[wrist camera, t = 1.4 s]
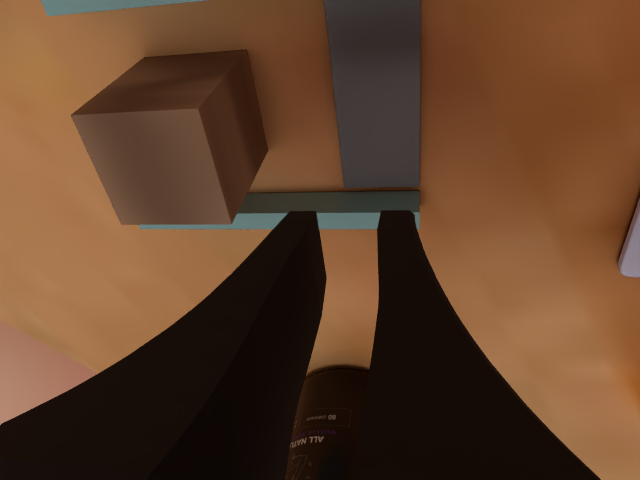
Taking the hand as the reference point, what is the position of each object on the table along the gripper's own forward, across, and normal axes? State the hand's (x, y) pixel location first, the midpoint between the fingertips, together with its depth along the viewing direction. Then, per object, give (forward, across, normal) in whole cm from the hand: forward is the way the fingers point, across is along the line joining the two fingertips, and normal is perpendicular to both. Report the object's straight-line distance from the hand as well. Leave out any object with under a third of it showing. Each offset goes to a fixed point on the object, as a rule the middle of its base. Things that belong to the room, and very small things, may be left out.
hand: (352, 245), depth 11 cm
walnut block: (+8, +6, 0) cm, 11 cm away
